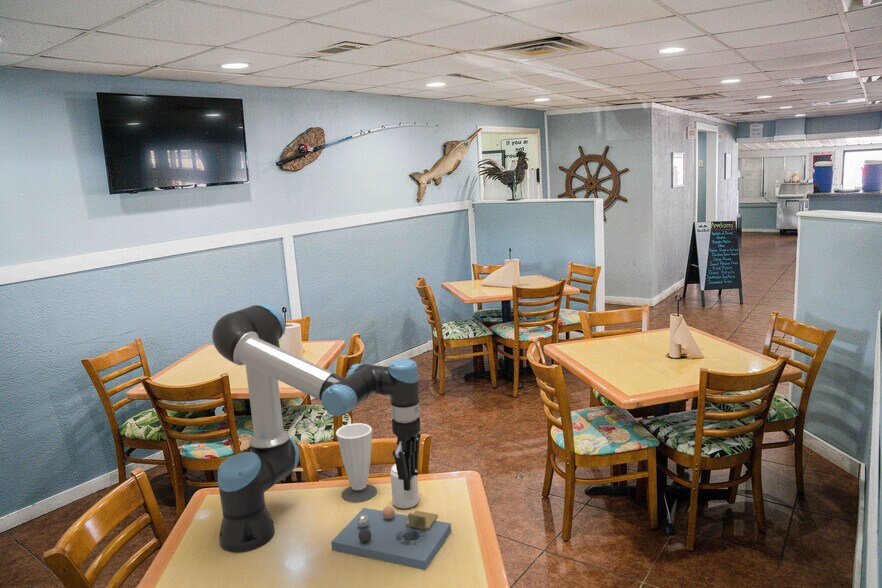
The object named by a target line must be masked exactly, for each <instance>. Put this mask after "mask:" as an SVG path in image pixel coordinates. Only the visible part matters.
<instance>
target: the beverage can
mask: <svg viewBox="0 0 882 588" xmlns="http://www.w3.org/2000/svg"><path fill="white" fill-rule="evenodd" d="M415 472H418V470H415ZM414 479H415V499H414V501H410V500H405V499H404V488H403V480H399V478H398V473H397V468H396V463H394V464H393V465H392V466H391V470H390V486H391V497H392V504H393V506H395V507H396V508H398V509H410V508H413V507H414V506H416V505H418V503H419V501H420V499H419V485H418V484H419V483H418V482H419V481H418V475H417V476H415V475H414Z"/></svg>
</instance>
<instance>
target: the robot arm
mask: <svg viewBox="0 0 882 588" xmlns="http://www.w3.org/2000/svg"><path fill="white" fill-rule="evenodd" d="M286 328H287V327H286V320H285V318H284V316H283V315H282V313H281V312H280V310H278V309H277V308H276V307H275V306H273V305H272V304H269V303H260V304H253V305H250V306H248V307H244V308H243V309H239V310H237V311H234V312H229V313H227V314H225V315H223V316H221V317H220V318H219V319H217V321H216V323H215V325H214V327H213V328H212V334H211V335H212V336H211V337H212V343H213V346H214V348H215V350H216V351H217V352H218V354H219V355H221V356H222V357H223V358H224V359H226V360H227V361H230V362H231V363H233V364H235V365H236V366H237V365H238V366H245V373H246V379H247V380H246V381H247V388H248V396H249V403H250V404H249V405H250V411H251V412H250V413H251V419H252V420H251V421H252V427H253V428H252V429H253V435H252V437H251V439H249V448H250V450H249V451H244V452H243V451H242V452H239V453H237V454H233V455H230V456H229V457H227V458H226V459H225V460H223V461H222V462H221V464H220V465H219V467H218V469H217V485H218V492H219V497H220V498H219V499H220V505H221V511H222V521H221V525H220V530H219V534H218V538H219V546H220V547H221V548H222V549H223V550H225V551H227V552H231V553H242V552H248V551H252V550H255V549H258V548H260V547H262V546H264V545H265V544H267V543H268V542H269V541H270V540H272V539H273V537H274V535H275V532H276V529H275V523H274V520H273V519H272V517H271V515H270V513H269V511H268V509H267V507H266V499H265V492H267V491H268V490H269V489H272V487H274V486H275V485H276V484H278V483H279V482H280V481H282V480H283V479H285V478H287V477H289V475H290V474H291V473H292V472H293V471H294V470H295V469H296V468H297V466H298V465H299V462H300V450H299V447H298V445H297V443H295V440H294V439H293V438H292V437H290V433H288V432H287V431H286V430H284V423H283V422H284V421H283V415H282V405H281V403H282V402H281V395H280V388H279V381H280V382H282V383H284V384H285V385H287V386H291V388H295V389H296V390H298V391H301V392H302V393H304V394H306V395H309V396H311V397H313V398H315V399H317V400H319V401H320V402H321V406H322V407H323V409H324V410H325V411H326V412H327V414H329V415H331V416H333V417H341V416H344V415H345V414H347V413H349V412H351V411H353V410H354V409H355V408H356V407H357V406H359V405H360V404H361V403H362V402H364V401H366V400H368V399H369V398H370V397H371V396H373V395H383V396H389V397H390V412H391V413H390V414H391V415H390V416H391V431H392V433H393V434H394V435H395V436H396V437H397V440H396V446H397V448H396V450H395V449H394V450H393V451H392V456H393V458H394V464H396V468H397V473H398V478H399V480H403V488H404V499H405V500H410V501H414V499H415V479H414V475H415V476H417V477H418V475H419V472H418V469H419V457H420V443H421V436H422V434H421V433H420V431H421V418H420V415H421V414H420V413H421V412H420V411H421V410H422V408H421V407H420V397H419V396H420V395H419V393H420V392H419V391H420V389H419V388H420V387H419V380H420V376H419V371H418V364H417V362H416V361H414V360H413V359H409V358H404V359H403V358H402V359H401V358H398V359H395V360H392V361H390V362H389V364H388V366H385V365H384V366H383V365H378V364H377V365H376V364H369V363H354V364H352V365H351V366H350V368H349V369H348V370H347V374H346V377H343V376H341V375H339V374H336V373H334V372H332V371H330V370H328V369H325V368H323V367H321V366H319V365H317V364H315V363H313V362H310V361H308V360H306V359H304V358H302V357H300V356H298V355H295V354H293V353H291V352H290V351H287V350H285V349H282V348H280V347H281V346H280V339H281V338H282V336H283V335H284V334H285V332H286ZM415 470H417V472H415Z"/></svg>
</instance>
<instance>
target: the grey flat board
mask: <svg viewBox="0 0 882 588" xmlns="http://www.w3.org/2000/svg"><path fill="white" fill-rule="evenodd" d="M382 512H383V510H379V509H374V508H369V507H362V509H361V510H359V512H358V513H357V514H355V516H354V517H353V518H352V519H351V520H350V522H348V523H347V525H346V526H345V527H344V528H343V529H342V530H340V532H339V533H338V534H337V535H336V536H335V537H334V538H333V539H332V540H331V551H336V552H340V553H344V554H350V555H354V556H359V557H363V558H369V559H372V560H378V561H380V562H381V561H382V562H387V563H392V564H396V565H401V566H406V567H411V568H415V569H420V570H424V571H426V570H427V569H428V567H429V566H430V564H431V563H432V561H433V560H434V559H435V557H436V555H437V553H438V552H439V550H440V549H441V547H442V546H443V544H444V543H445V541H446V540H447V538H448V537H449V535H450V533H452V523H451V522H446V521H440V520H436V521H435V522H434V524H433V525H432V526H431V528H430V529H429V530H424V529H419V528H413V527H408V526H406V522H407V521H408V514H407V515H406V514H401V513H396V512H395V514H394V516H393V518H391V519H385V518H384V517H383V514H382ZM360 515H366V516H368V518H369V524H368V526H366V527H365V528H361V527H359V526H358V525H357V518H358V517H359V516H360ZM362 529H368V530H370V532H371V539H370V540H369V541H368V542H361V541H360V540H359V537H358V535H359V532H360V531H361V530H362Z"/></svg>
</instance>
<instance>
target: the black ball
mask: <svg viewBox="0 0 882 588" xmlns="http://www.w3.org/2000/svg"><path fill="white" fill-rule="evenodd" d="M358 537H359V540H360V541H361V542H368V541H369V540H370V539H371V532H370V530H368V529H362V530H361V531H360V532H359V535H358Z"/></svg>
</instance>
